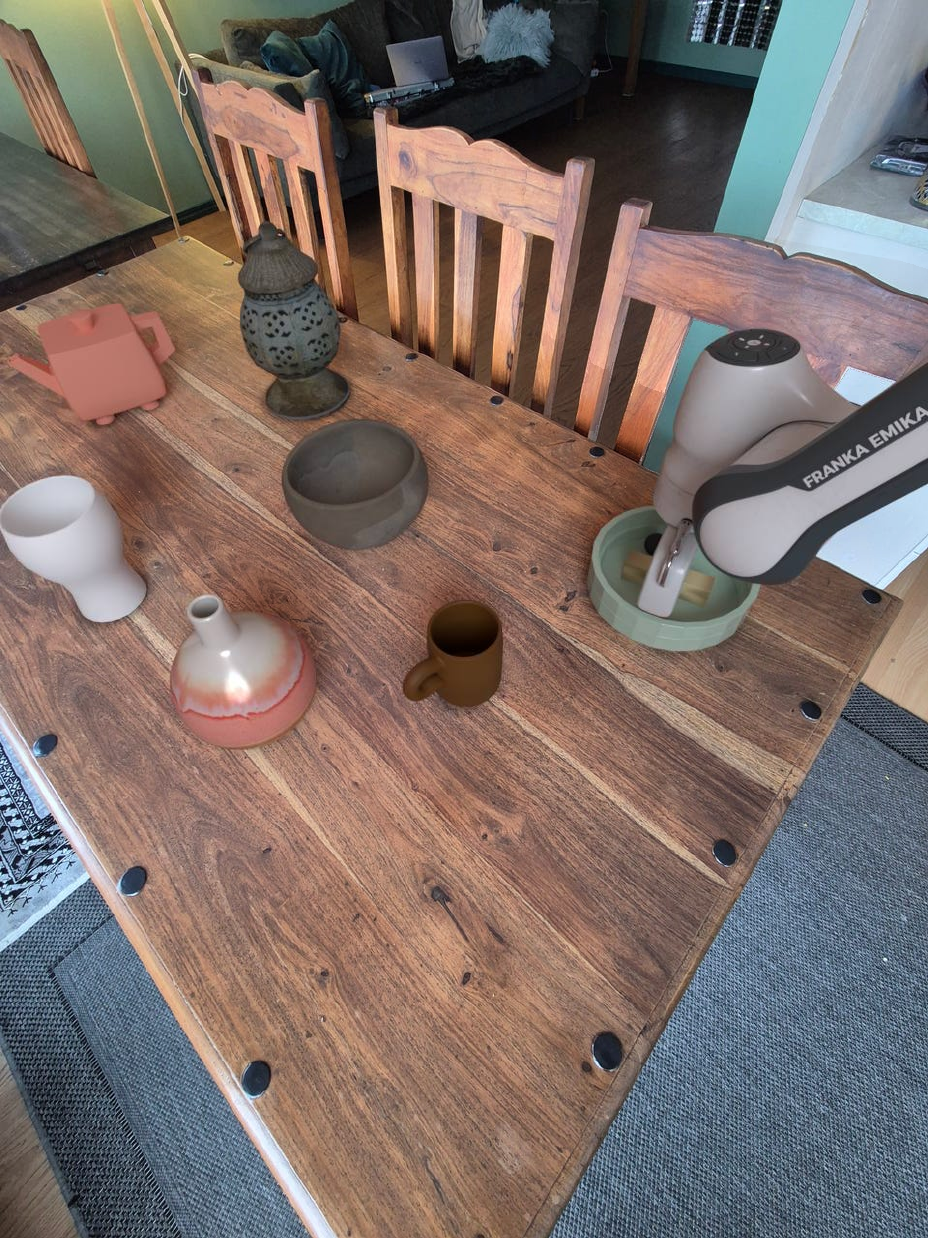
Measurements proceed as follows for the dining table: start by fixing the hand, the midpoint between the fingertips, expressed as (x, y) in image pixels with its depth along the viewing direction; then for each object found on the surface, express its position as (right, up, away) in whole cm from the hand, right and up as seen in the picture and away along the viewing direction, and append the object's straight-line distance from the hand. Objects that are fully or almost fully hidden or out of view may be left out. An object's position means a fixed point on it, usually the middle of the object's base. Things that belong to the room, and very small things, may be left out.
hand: (668, 581), depth 75 cm
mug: (-25, -12, -7) cm, 29 cm away
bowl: (-37, +9, +10) cm, 40 cm away
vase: (-46, -14, -7) cm, 48 cm away
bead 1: (-1, +4, +2) cm, 5 cm away
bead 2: (-4, -4, -4) cm, 6 cm away
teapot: (-79, +30, +27) cm, 89 cm away
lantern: (-49, +32, +27) cm, 65 cm away
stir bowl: (0, -1, +1) cm, 2 cm away
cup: (-67, -2, +3) cm, 67 cm away
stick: (0, 0, +1) cm, 1 cm away
